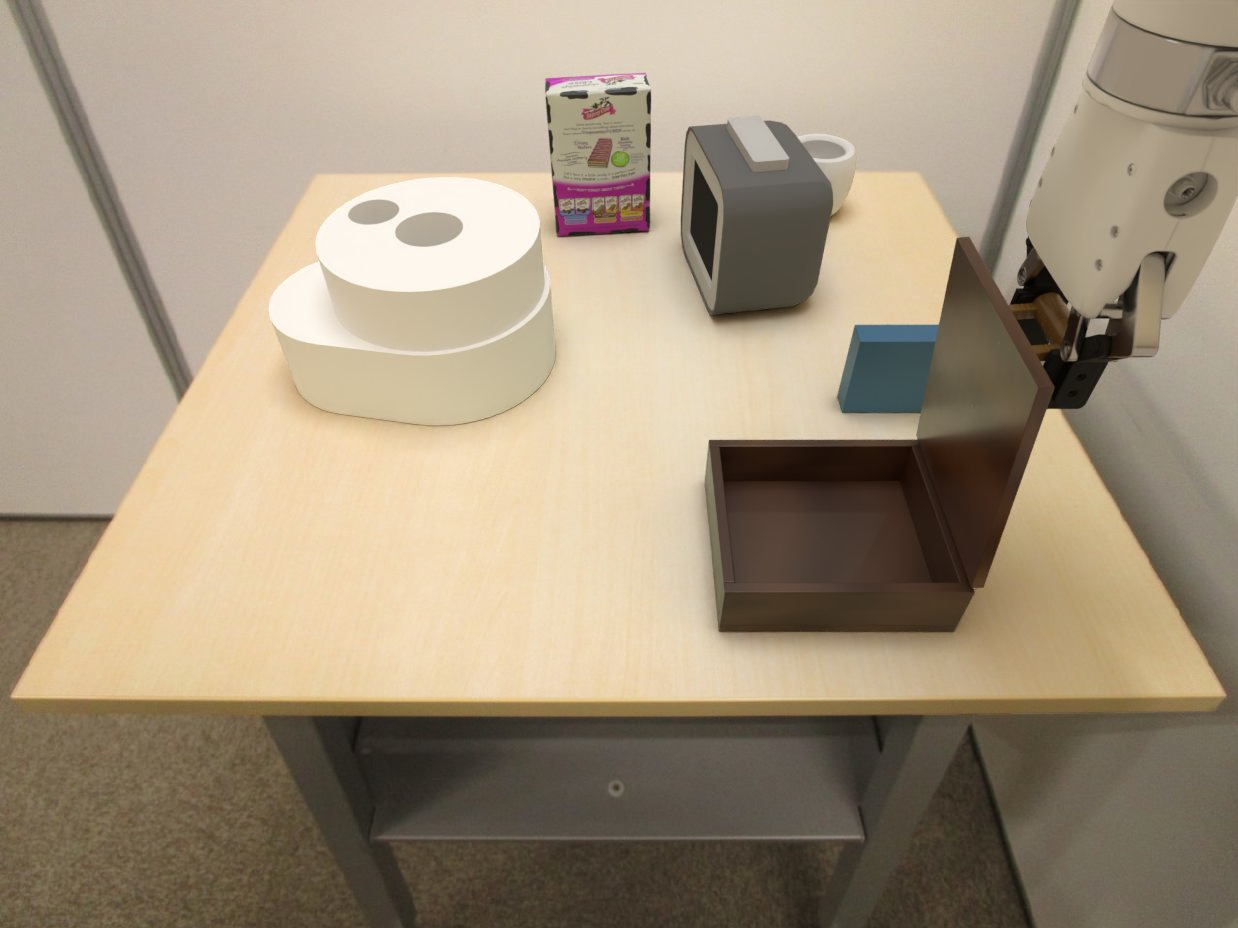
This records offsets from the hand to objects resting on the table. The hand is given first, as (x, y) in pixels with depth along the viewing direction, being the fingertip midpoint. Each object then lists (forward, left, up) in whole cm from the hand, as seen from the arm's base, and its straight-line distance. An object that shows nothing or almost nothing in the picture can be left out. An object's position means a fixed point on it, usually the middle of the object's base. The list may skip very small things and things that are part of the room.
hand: (1037, 371), depth 50 cm
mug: (+41, -31, -18) cm, 54 cm away
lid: (+2, +3, -4) cm, 5 cm away
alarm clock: (+37, -15, -18) cm, 43 cm away
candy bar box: (+56, -10, -18) cm, 59 cm away
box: (+7, +8, -18) cm, 20 cm away
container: (+47, +19, -18) cm, 53 cm away
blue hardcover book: (+13, -11, -18) cm, 24 cm away
